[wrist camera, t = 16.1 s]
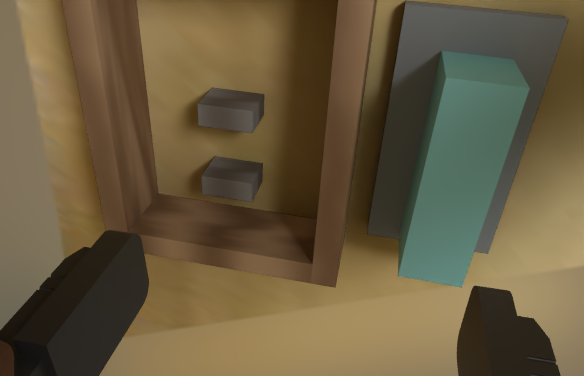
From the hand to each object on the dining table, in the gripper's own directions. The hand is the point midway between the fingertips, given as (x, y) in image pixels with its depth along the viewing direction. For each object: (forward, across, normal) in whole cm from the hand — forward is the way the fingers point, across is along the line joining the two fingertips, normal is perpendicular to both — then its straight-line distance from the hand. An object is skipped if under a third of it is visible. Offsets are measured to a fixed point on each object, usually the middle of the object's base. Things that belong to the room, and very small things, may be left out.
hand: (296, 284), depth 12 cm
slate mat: (+23, -6, +7) cm, 25 cm away
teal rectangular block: (+22, -6, +8) cm, 24 cm away
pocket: (+23, +8, +5) cm, 25 cm away
